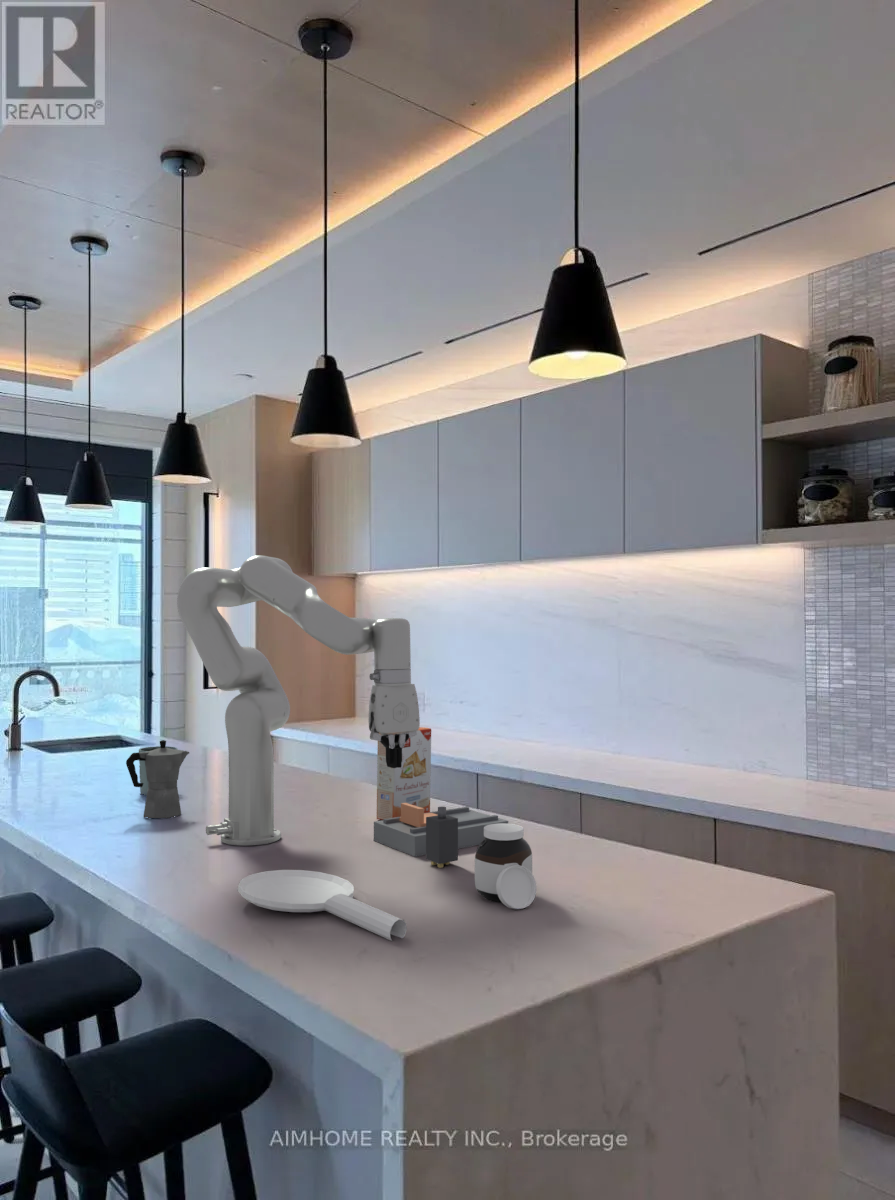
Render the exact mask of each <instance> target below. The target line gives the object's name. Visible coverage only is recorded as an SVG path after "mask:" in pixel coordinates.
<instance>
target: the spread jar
mask: <svg viewBox="0 0 895 1200" xmlns="http://www.w3.org/2000/svg"><path fill="white" fill-rule="evenodd" d="M524 833H525V831H524V827H523V826H521V825H518V824H514V823H508V824H506V823H499V824H490V825H487V826H485V827H484V837H485V838H484V839H483V840H482V841H481V843H480V844H479V845H477V849H476V851H475V855H474V886H475V889H476V891H477V893H478V894H479V895H480V896H481V897H482V898H483V899H485V900H487V901H490V902H493V903H500V904H501V903H502V904H503V905H504V906H506V908H508V909H512V910H520V909H521V910H522V909H524V908H527V907H529V906H530V905H531V904H532V903H533V902H534V900H535V897H536V894H537V887H538V886H537V882H536V878H535V876H534V875H533V852H532V847H531V846H530V844H529V843H528V841H526V840H525V838H524V835H525V834H524Z"/></svg>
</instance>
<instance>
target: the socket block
mask: <svg viewBox="0 0 895 1200" xmlns="http://www.w3.org/2000/svg"><path fill="white" fill-rule="evenodd" d="M428 813H434V814H437V815H438V810H436V811H435V810H434V811H430V812H428ZM446 815H448V816H452V817H455V818H458V850H459V849H464V848H465V849H466V848H470V847H475V846H479V844H480V843H481V841H482V840H483V839H484V838H485V837H484V827H485V826H487V825H490V824H499V823H506V824H509V820H507V819H503V818H499V815H496V814H492V815H490V814H487V813H482V812H479V811H475V810H474V809H473V810H472V809H470V807H468V806H463V807H456V808H450V809H446ZM374 841H375V842H376V843H380V844H381V845H384V846H387V847H390V848H391V849H395V850H396V851H397V850H398V851H400V852H402V853H405V854H406V855H410V856H412V857H414V858H415V857H421V856H426V826H423V827H416V826H413V825H410V824H407V823H404V822H401V821H400V817H395V818H388V819H383V820H375V821H373V842H374Z"/></svg>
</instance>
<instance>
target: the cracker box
mask: <svg viewBox="0 0 895 1200" xmlns="http://www.w3.org/2000/svg"><path fill="white" fill-rule="evenodd" d="M416 732H417V735H416V736H414V737H411V738H408V740H407V741H406V742H405V745H404V747H403V748H402V762H401V767H400V768H398V767H397V768H391V767H387V763H386V748H385V747H384V746H383V744H382V743H381V742H380V741H377V756H376V757H377V760H376V761H377V762H376V763H377V765H376V766H377V767H376V768H377V769H376V774H377V775H376V820H379V821H381V820H383V819H388V818H395V817H401V803H408V804H411V805H415V806H418V807H421V808H424V813H428V812H431V781H432V780H431V779H432V778H431V773H432V772H431V769H432V768H431V767H432V766H431V765H432V728H430V727H423V726H420V727H419V729H418V730H417V731H416ZM379 735H381V733H379ZM393 736H394V734H393Z"/></svg>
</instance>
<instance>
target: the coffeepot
mask: <svg viewBox="0 0 895 1200" xmlns="http://www.w3.org/2000/svg"><path fill="white" fill-rule="evenodd" d="M166 745H167V740H165V739H164V740H160V741H159V746H161V748H158V749H155V750H151V751H148V752H141V753H139V751H138V752H132V753H131V754H130V755H129V756H128V758H127V759H126V762H125V764H126V767H127V770H128V773H129V776H130V779H131V782H132V785H133V787H135V788H140V787H142V786H143V783H140V781H138V780H139V776H138V774H137V772H136V765H135V764H134V762H136V761H139V760H140V761H145V767H146V775H147V781H148V791H147V795H146V798H145V805H144V811H143V817H144V818H145V817H148V818H147V819H149V818H166V819H171V818H170V817H173V818H175V817H174V816H177V817H179V816H181V814H182V810H181V809H182V808H181V803H180V796H179V790H178V789H179V788H178V780H179V774H180V768H181V767H182V764H183V762H184V761H185V759H186V757H187V756H188V755H189V754H190V752H189V751H188V750H181V749H178V750H176V749H170V748H165V746H166ZM178 815H179V816H178Z"/></svg>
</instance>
